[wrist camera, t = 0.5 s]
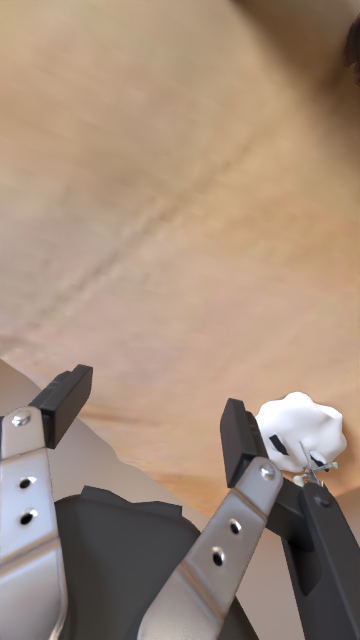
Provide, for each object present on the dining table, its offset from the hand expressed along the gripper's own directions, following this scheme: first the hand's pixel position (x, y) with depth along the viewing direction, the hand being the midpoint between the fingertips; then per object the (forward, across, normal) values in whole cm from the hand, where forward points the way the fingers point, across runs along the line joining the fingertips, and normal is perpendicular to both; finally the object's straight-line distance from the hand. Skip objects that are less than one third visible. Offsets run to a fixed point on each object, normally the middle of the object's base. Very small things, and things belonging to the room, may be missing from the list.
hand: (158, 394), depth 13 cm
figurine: (+28, -30, +24) cm, 48 cm away
